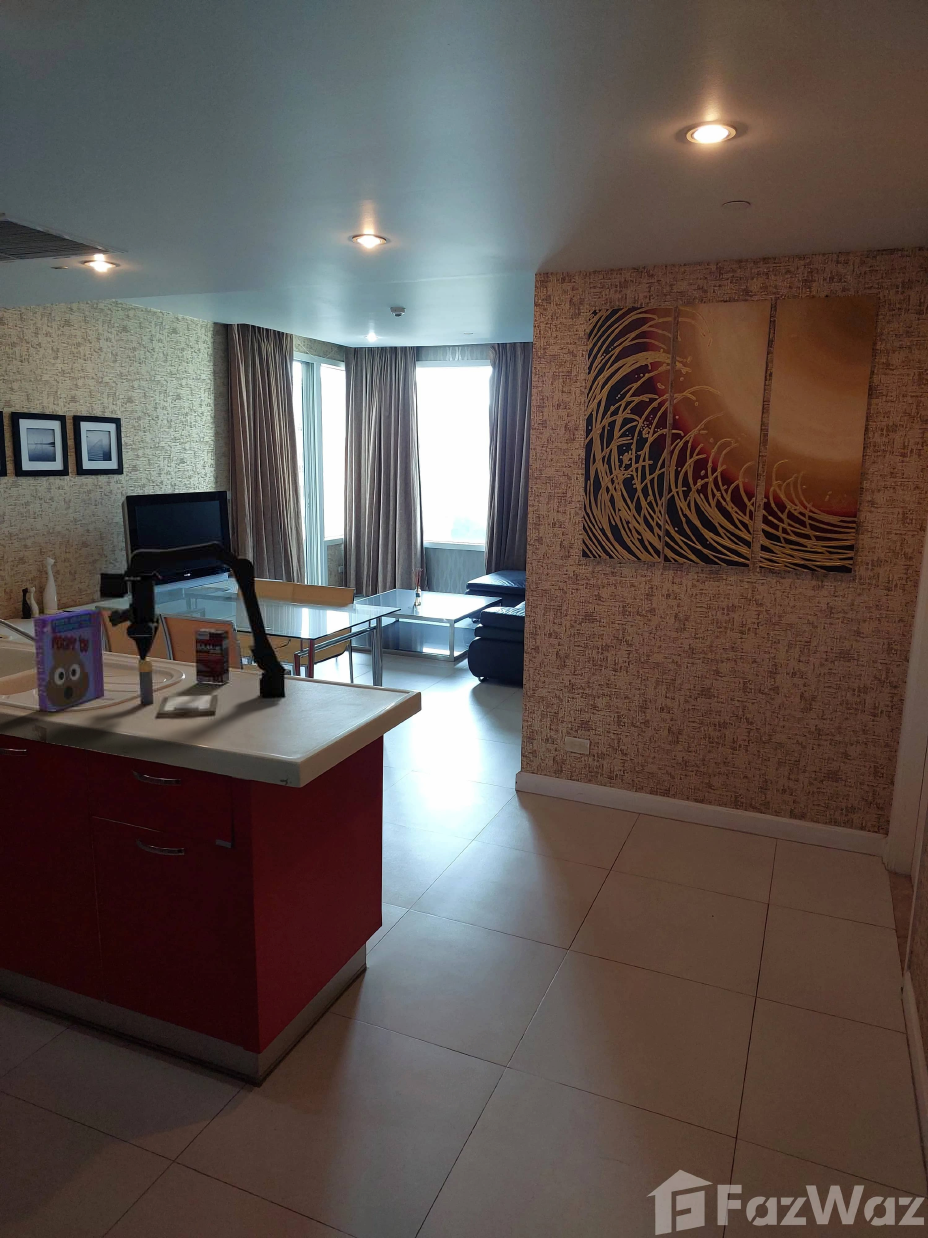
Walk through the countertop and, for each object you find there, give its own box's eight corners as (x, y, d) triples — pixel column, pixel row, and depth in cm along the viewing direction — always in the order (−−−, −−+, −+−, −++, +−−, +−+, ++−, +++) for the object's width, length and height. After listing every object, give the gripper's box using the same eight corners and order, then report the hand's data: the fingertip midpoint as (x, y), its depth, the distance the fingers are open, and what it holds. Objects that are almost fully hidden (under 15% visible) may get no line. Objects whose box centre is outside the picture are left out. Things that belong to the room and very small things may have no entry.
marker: (154, 701, 217) (153, 658, 215) (152, 705, 214) (151, 661, 212) (141, 702, 216) (139, 658, 214) (139, 705, 213) (137, 661, 211)
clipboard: (217, 698, 221) (217, 691, 221) (215, 715, 206) (214, 706, 206) (163, 701, 218) (163, 693, 217) (157, 717, 202) (156, 709, 202)
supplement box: (195, 683, 237) (194, 630, 235) (203, 680, 242) (202, 628, 239) (223, 685, 236) (221, 632, 233) (230, 681, 240) (229, 629, 238)
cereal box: (53, 712, 205) (48, 619, 201) (39, 710, 206) (33, 617, 202) (104, 696, 221) (100, 610, 217) (90, 694, 223) (86, 608, 219)
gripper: (115, 593, 217) (118, 649, 220) (103, 603, 199) (106, 664, 202) (159, 593, 220) (161, 649, 222) (151, 603, 202) (153, 663, 205)
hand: (145, 656), depth 213 cm, fingers open, 9 cm apart
